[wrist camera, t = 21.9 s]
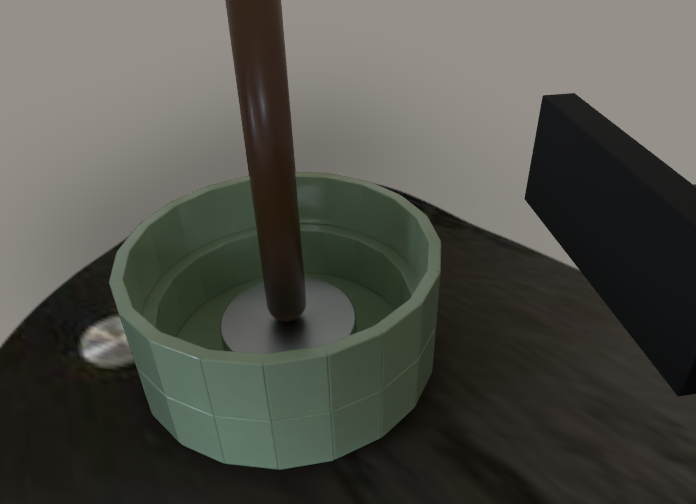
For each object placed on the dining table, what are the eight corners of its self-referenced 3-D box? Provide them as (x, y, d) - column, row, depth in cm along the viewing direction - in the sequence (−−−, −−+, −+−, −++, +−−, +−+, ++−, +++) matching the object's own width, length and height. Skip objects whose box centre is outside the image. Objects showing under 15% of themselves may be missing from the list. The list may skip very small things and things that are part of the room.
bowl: (192, 538, 23) (154, 424, 19) (120, 317, 34) (87, 215, 30) (492, 393, 29) (512, 282, 25) (348, 244, 40) (345, 150, 36)
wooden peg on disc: (252, 417, 27) (173, -24, 17) (208, 328, 33) (125, -54, 22) (381, 363, 30) (385, -48, 19) (321, 289, 35) (298, -69, 24)
